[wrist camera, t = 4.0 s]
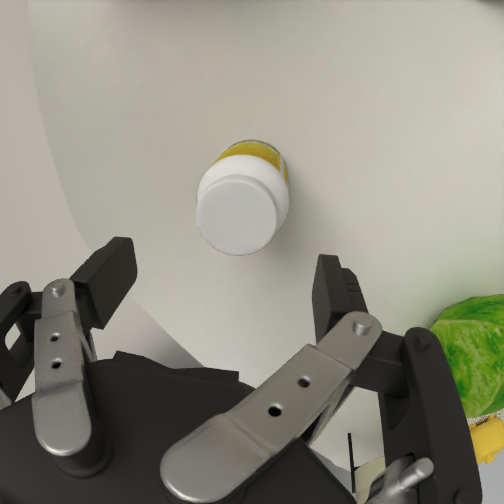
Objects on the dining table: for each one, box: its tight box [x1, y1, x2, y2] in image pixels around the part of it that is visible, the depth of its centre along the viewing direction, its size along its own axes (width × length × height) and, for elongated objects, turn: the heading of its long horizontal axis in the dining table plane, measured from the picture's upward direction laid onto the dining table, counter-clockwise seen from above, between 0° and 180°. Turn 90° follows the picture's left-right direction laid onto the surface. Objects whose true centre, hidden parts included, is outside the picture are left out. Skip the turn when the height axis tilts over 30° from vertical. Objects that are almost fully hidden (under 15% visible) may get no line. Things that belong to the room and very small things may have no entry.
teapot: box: [469, 415, 504, 465], centre depth 45 cm, size 13×20×12 cm
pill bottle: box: [196, 140, 290, 256], centre depth 21 cm, size 6×6×11 cm
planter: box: [348, 433, 385, 504], centre depth 36 cm, size 15×16×23 cm
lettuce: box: [429, 294, 504, 418], centre depth 27 cm, size 17×20×17 cm
